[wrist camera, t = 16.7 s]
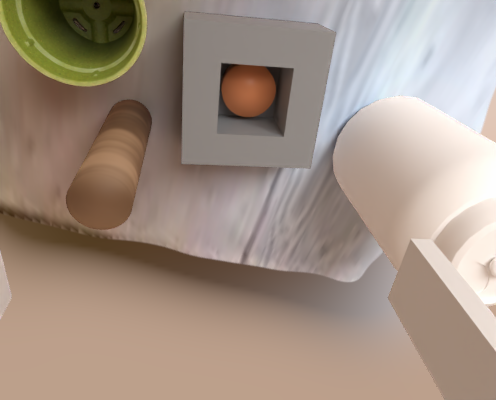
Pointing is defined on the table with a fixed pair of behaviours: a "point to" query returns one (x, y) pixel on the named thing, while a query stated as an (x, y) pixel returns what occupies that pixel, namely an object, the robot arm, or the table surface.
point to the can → (423, 184)
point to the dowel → (111, 168)
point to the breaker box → (286, 97)
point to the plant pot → (76, 37)
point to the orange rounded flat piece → (248, 89)
